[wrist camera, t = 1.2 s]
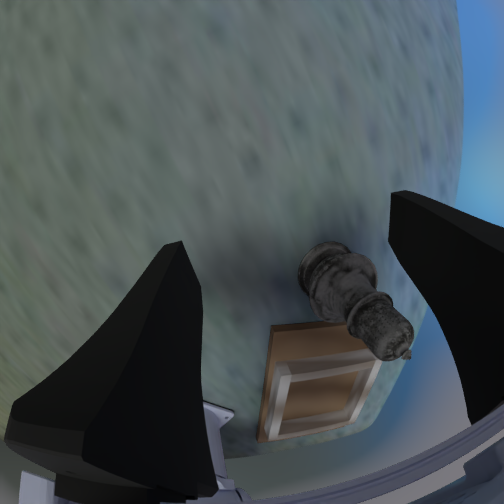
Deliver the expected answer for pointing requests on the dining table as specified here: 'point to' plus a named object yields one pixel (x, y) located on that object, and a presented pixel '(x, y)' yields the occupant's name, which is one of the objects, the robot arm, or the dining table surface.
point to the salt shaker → (354, 299)
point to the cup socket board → (313, 380)
